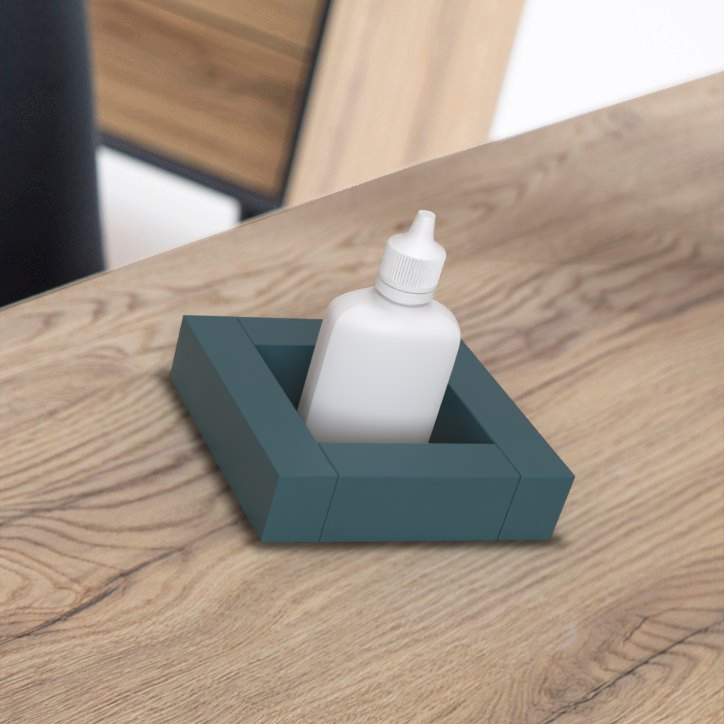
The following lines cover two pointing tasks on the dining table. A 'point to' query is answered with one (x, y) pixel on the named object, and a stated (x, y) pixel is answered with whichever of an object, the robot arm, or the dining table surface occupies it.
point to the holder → (361, 447)
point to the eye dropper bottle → (385, 350)
